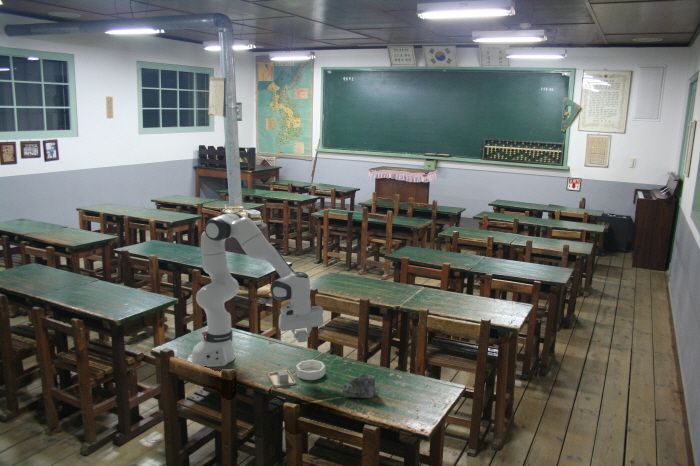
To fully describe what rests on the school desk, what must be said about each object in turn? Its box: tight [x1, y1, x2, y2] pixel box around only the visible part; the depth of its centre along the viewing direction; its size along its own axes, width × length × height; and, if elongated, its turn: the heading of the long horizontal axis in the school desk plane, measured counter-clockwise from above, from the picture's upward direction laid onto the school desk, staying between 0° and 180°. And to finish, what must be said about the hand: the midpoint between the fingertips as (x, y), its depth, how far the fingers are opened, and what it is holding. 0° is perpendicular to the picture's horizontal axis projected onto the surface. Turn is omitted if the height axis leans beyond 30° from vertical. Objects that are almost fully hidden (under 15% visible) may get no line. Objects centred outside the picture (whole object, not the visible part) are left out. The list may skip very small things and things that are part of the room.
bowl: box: [295, 359, 326, 381], centre depth 251 cm, size 12×12×4 cm
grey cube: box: [295, 328, 308, 344], centre depth 247 cm, size 4×4×4 cm
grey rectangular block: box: [277, 370, 289, 384], centre depth 242 cm, size 4×4×4 cm
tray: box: [266, 369, 297, 388], centre depth 245 cm, size 10×13×2 cm
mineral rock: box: [342, 373, 376, 399], centre depth 233 cm, size 13×11×10 cm
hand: (301, 337), depth 248 cm, fingers closed on grey cube, 4 cm apart
